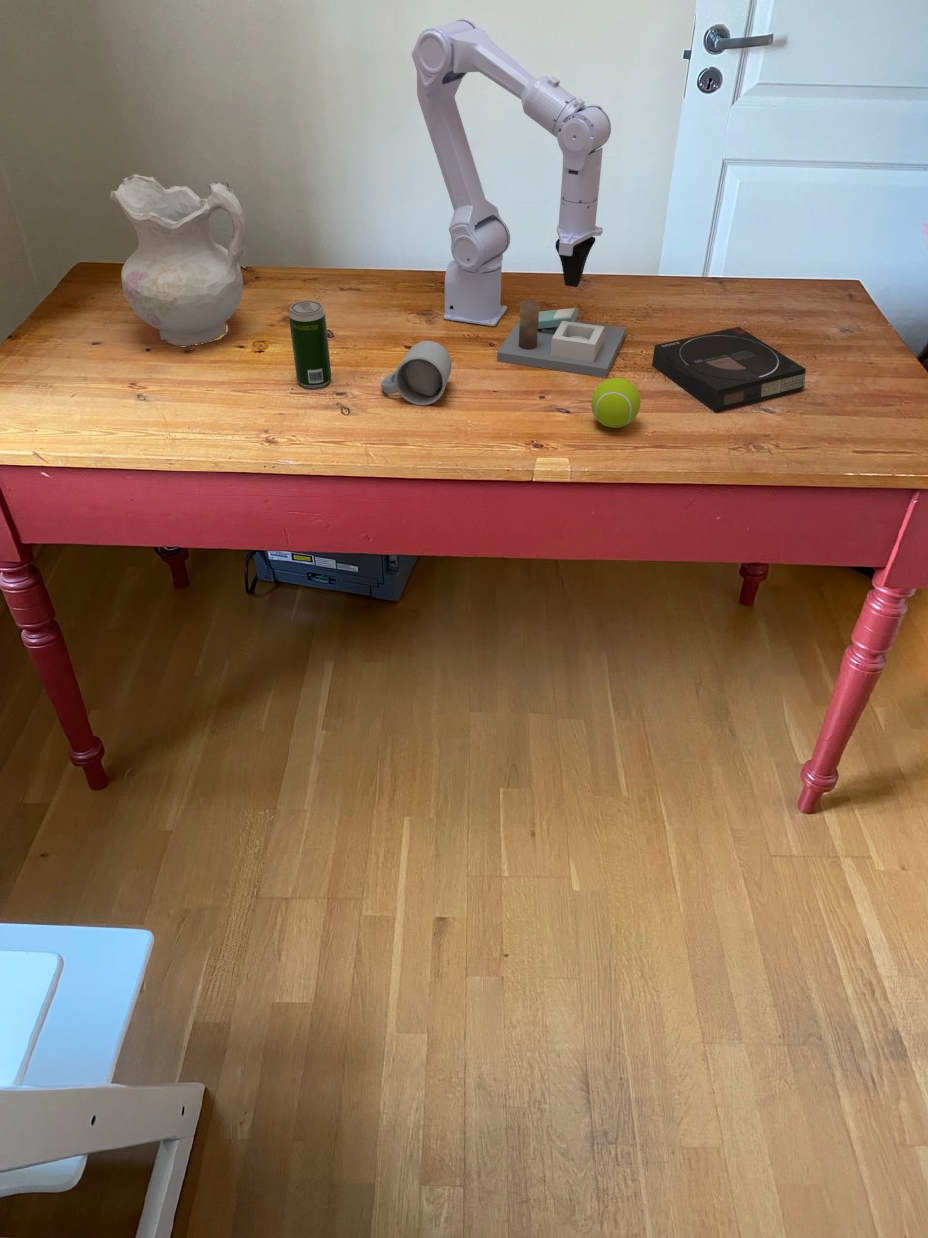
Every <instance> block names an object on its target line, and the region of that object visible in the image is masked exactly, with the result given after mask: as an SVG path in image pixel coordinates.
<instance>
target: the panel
mask: <svg viewBox="0 0 928 1238" xmlns="http://www.w3.org/2000/svg"><path fill="white" fill-rule="evenodd" d="M519 326H520V318H519V320H518V321H517V323H516V324H515V325H514V327H513V328H512V330H511V331H510V333H509V334H508V336H507V337H506V339H505V340H504V341H503V343H502V344H501V346H500V348H498V350H497V352H496V362H503V363H507V364H515V365H520V366H527V367H532V368H533V367H535V368H541V369H548V370H553V371H559V372H567V373H573V374H580V375H585V376H591V377H592V376H593V377H598V378H603V379H604V378H605V379H606V378H607V376H608V374H609V372H610V369H611V368H612V366H613V364H614V361H615V359H616V357H617V355H618V353H619V351H620V348H621V347H622V344H623V341H624V340H625V338H626V333H627V327H625V326H617V325H612V324H611V325H610V324H605V323H604V324H603V323H595V322H590V321H583V320H582V321H581V320H577V319H575V321H574V322H569V321H562V322H561V324H560V325H559V327H551V328H541V329H538V337H537V347H536V348H534V349H530V350H527V349H522V348H520V347H519ZM572 336H581V337H585V338H587V339H588V340H584V339H577V338H570V337H572Z"/></svg>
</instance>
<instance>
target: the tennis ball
mask: <svg viewBox="0 0 928 1238" xmlns="http://www.w3.org/2000/svg"><path fill="white" fill-rule="evenodd" d="M590 403H591V404H590V405H591V410H592V414H593V417H594V418H595V419H596V420H597V422H598V423H600V425H603V426H605V427H607V428H612V429H620V428H624V427H626V426H627V425H630V424H631V423H633V421H634V420H635V419H636V418H637V416H638V414H639V412H640V410H641V403H642V401H641V396H640V393H639V391H638V389H637V387H636V386H635V385H634V384H633V382H631V381H629V380H628V379H626V378H621V377H613V378H609V379H606V380H604V381H603V382H601V383H600V384H599V385H598V386H597V387H596V389H594V392H593V394H592V396H591V402H590Z"/></svg>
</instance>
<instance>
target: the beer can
mask: <svg viewBox="0 0 928 1238" xmlns="http://www.w3.org/2000/svg"><path fill="white" fill-rule="evenodd" d="M326 317H327V316H326V311H325V310H324V305H323V304H322V303H321V302H319V301H316V300H302V301H297V302H294V303H292V304H291V305H290V306H289V313H288V319H289V329H290V336H291V344H292V353H293V361H294V368H295V376H296V381H297V383H299V385H300V387H302V386H303V387H302V388H304V387H305V389H308V388H309V390H312V389H314V390H316V389H321V388H324V387H326V386H328V385H329V383H330V382H331V379H332V371H331V359H330V350H329V349H330V347H329V338H328V328H327V319H326Z"/></svg>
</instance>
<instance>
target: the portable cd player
mask: <svg viewBox="0 0 928 1238" xmlns="http://www.w3.org/2000/svg"><path fill="white" fill-rule="evenodd" d="M653 349H654V350H653V355H652V356H653V357H652V363H651V366H652V368H654V369H655V370H657V371H658V372H659V373H661V374H662V375H663V376H665V377H666V378H668V379H669V380H670V381H672V382H673V383H674V384H676V386H678V387H679V388H680V389H682V390H683V391H685V392H686V393H688V394H689V395H690V396H691V397H692V398H694V399H696V400H697V401H698V402H700V403H701V404H702V405H704V407H707V408H708V409H709V410H711V412H713V413H718V412H721V411H725V410H729V409H730V410H731V409H734V408H737V407H741V406H745V405H749V404H752V403H757V402H761V401H765V400H768V399H773V398H776V397H781V396H785V395H788V394H793V393H796V392H801V391H802V390H803V389H804V388H805V383H806V382H805V381H806V370H807V369H806V368H805V367H804V366H802V365H800V364H799V363H797V362H796V361H794V360H792V359H791V358H790V357H787V356H786V355H784V353H782V352H780V351H779V350H777V349H775V348H773V347H772V346H771V345H769V344H767V343H766V342H764V341H762V340H760V339H759V338H757V337H756V336H755V335H752V334H751V333H750V332H748V331H746V330H745V329H743V328H741V327H740V326H735V327H731V328H727V329H723V330H718V331H712V332H709V333H704V334H699V335H695V336H690V337H685V338H682V339H676V340H672V341H667V342H663V343H658V344H655V345H654V348H653Z"/></svg>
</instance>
